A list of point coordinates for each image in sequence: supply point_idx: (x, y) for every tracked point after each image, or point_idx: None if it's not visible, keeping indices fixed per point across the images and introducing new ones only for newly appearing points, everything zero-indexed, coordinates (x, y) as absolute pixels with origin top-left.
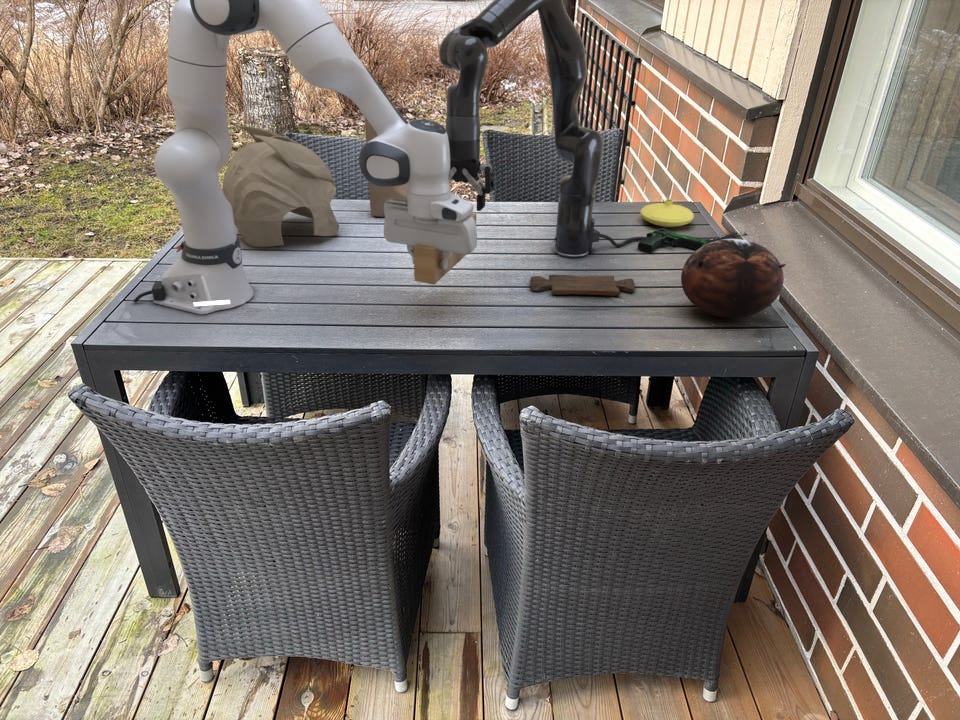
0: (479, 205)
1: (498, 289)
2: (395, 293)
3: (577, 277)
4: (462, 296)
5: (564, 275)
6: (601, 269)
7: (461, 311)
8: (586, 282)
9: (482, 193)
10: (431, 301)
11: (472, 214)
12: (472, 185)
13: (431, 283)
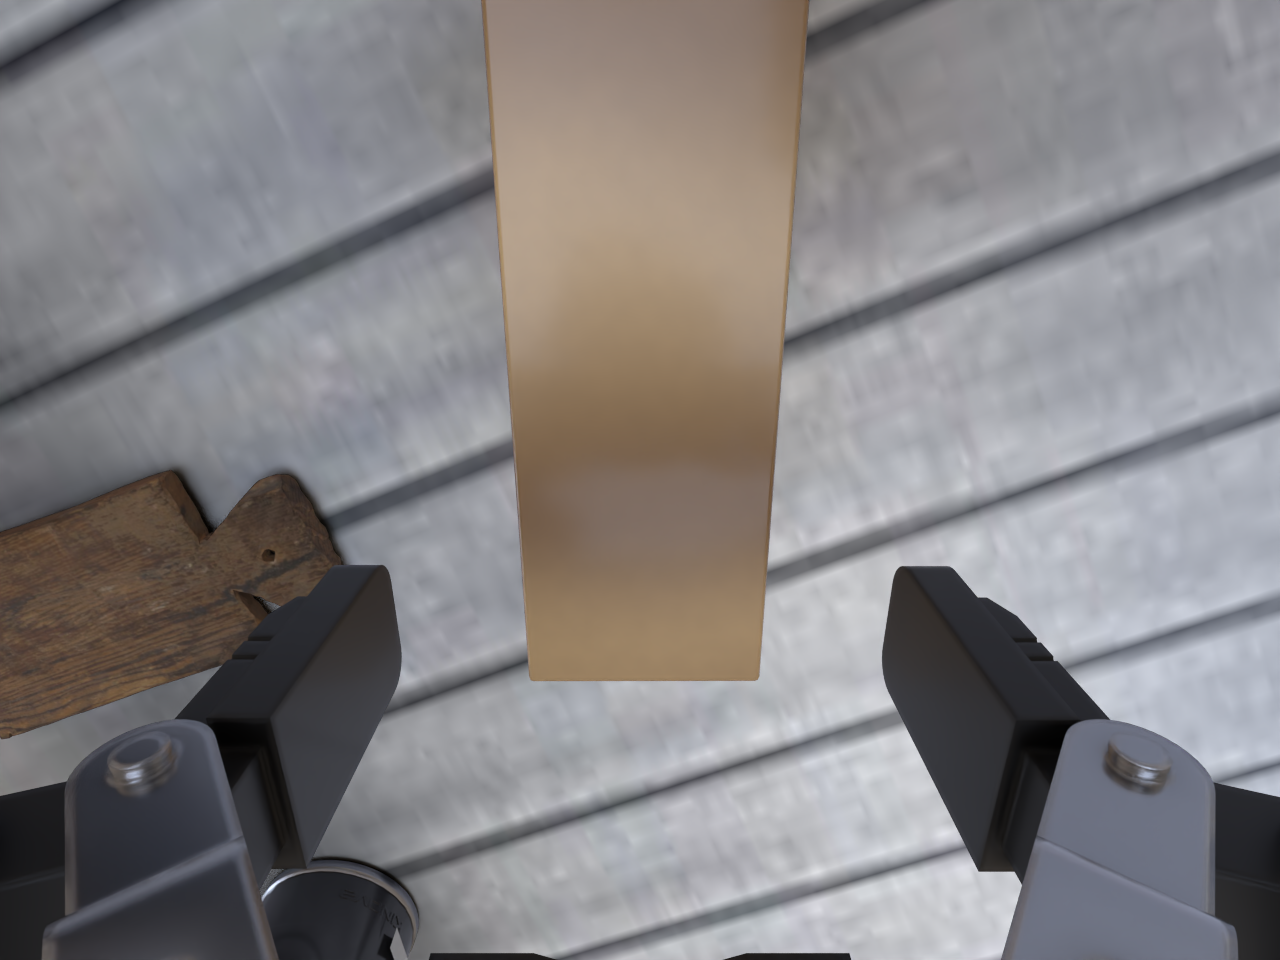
0: (302, 604)
1: (463, 436)
2: (998, 149)
3: (139, 667)
4: None
5: (206, 665)
6: None
7: None
8: (69, 631)
9: (93, 752)
10: None
11: (562, 655)
12: (212, 865)
13: None
